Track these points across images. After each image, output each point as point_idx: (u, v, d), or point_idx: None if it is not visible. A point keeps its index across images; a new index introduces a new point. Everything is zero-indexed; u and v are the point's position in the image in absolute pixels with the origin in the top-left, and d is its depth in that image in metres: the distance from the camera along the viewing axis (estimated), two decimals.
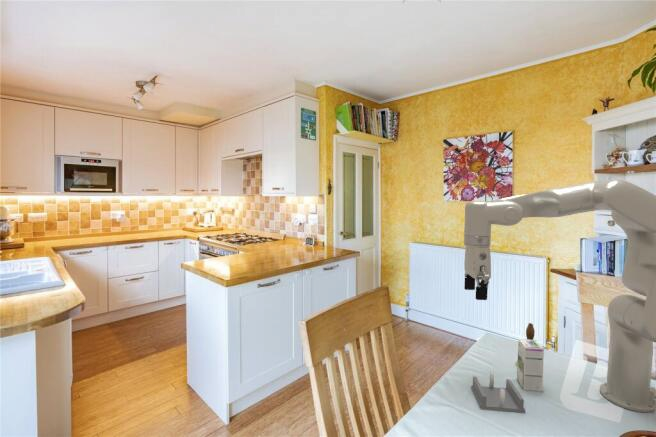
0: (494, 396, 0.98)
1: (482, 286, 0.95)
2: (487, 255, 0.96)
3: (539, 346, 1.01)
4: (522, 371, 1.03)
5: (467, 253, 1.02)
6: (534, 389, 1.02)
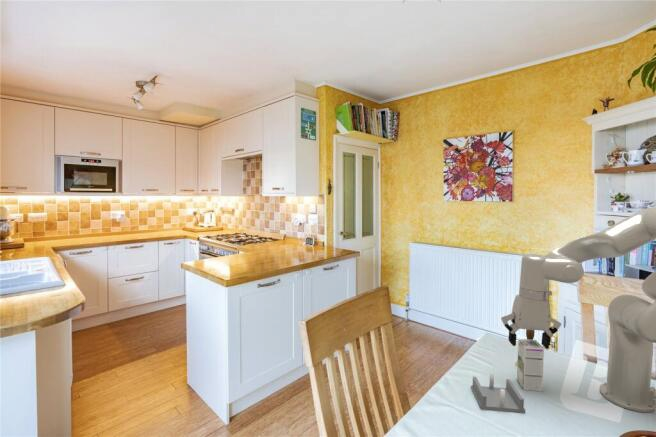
0: (494, 396, 0.98)
1: None
2: None
3: (539, 346, 1.01)
4: (522, 371, 1.03)
5: (532, 309, 1.00)
6: (534, 389, 1.02)
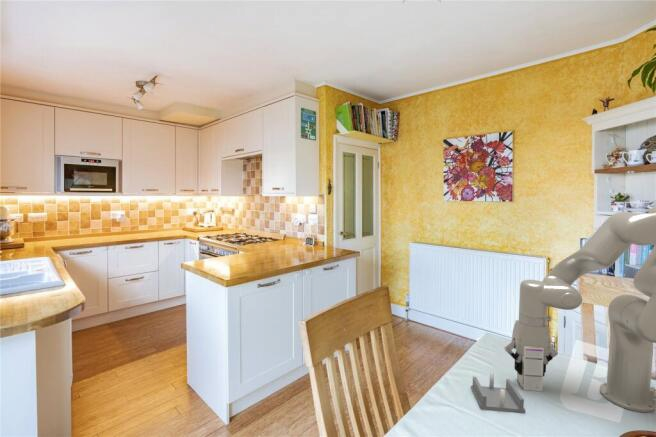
0: (494, 396, 0.98)
1: None
2: None
3: None
4: (522, 371, 1.03)
5: (532, 335, 1.01)
6: (534, 389, 1.02)
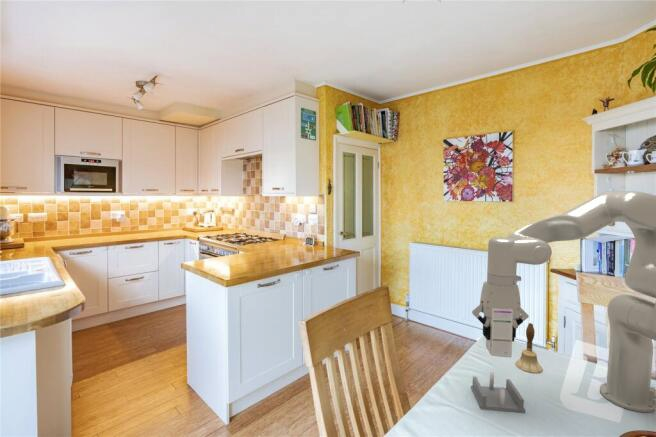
0: (494, 396, 0.98)
1: None
2: None
3: (507, 308, 0.93)
4: (490, 336, 0.95)
5: (500, 296, 0.93)
6: (503, 355, 0.94)
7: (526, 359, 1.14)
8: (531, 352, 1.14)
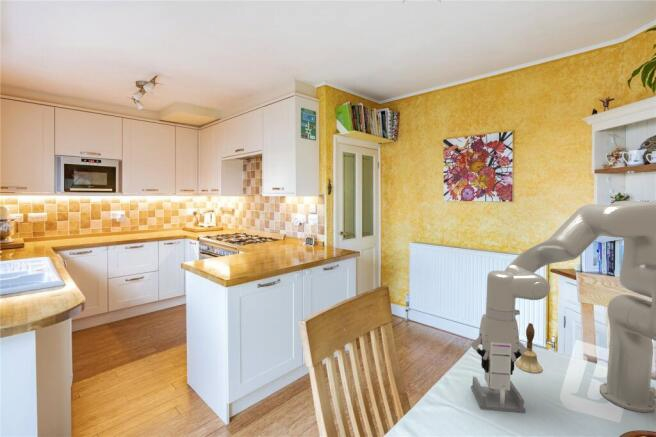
0: (494, 396, 0.98)
1: None
2: None
3: (506, 342, 0.93)
4: (489, 368, 0.96)
5: (499, 330, 0.93)
6: (501, 388, 0.95)
7: (526, 359, 1.14)
8: (531, 352, 1.14)
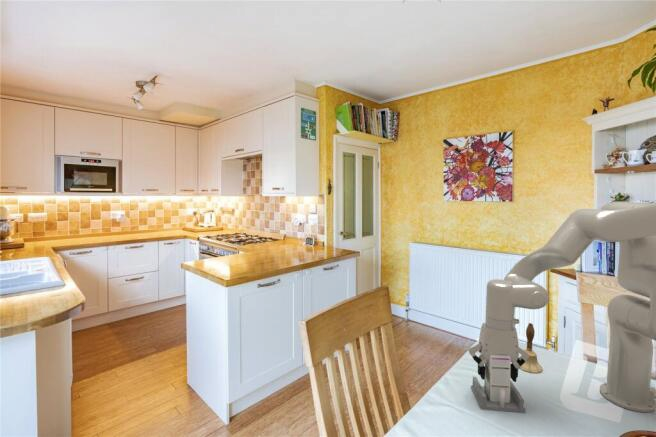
0: None
1: None
2: None
3: (505, 355, 0.94)
4: (488, 381, 0.96)
5: (499, 339, 0.94)
6: None
7: None
8: (531, 352, 1.14)
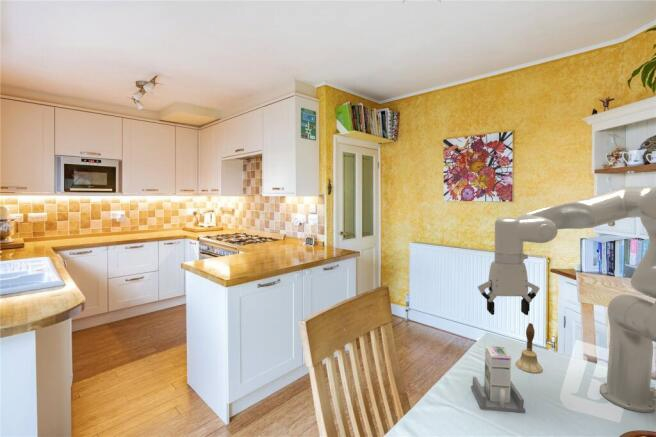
0: None
1: None
2: None
3: (506, 355, 0.94)
4: (489, 381, 0.96)
5: (508, 274, 0.96)
6: None
7: (526, 359, 1.14)
8: (531, 352, 1.14)
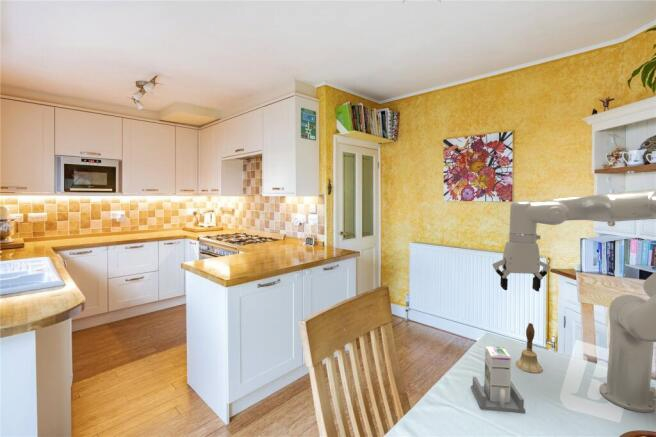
0: None
1: None
2: None
3: (506, 355, 0.94)
4: (489, 381, 0.96)
5: (522, 252, 1.04)
6: None
7: (526, 359, 1.14)
8: (531, 352, 1.14)
